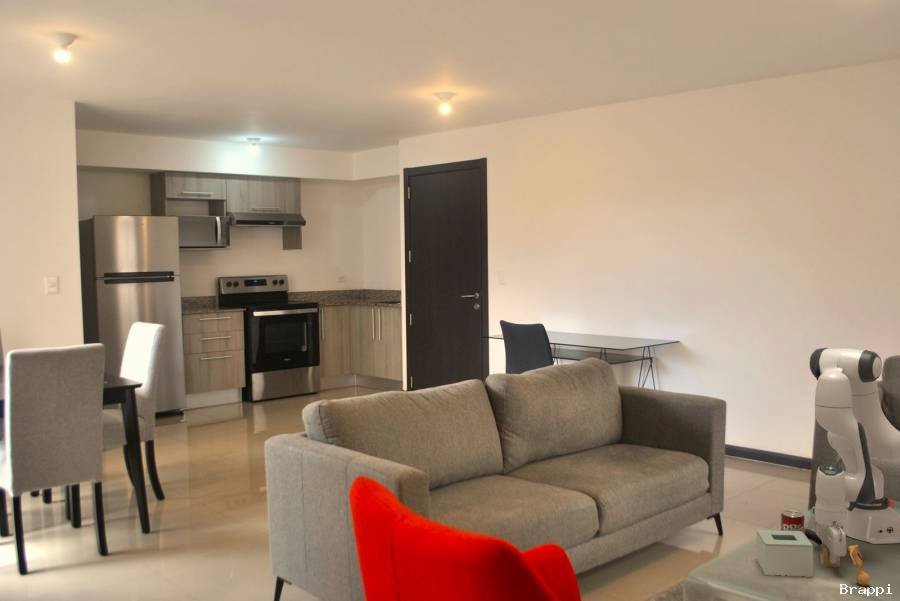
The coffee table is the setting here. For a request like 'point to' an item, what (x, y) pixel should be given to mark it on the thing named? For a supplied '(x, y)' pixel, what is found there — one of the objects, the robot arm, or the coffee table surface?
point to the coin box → (784, 553)
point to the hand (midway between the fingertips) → (829, 558)
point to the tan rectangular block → (827, 557)
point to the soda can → (792, 521)
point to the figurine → (861, 576)
